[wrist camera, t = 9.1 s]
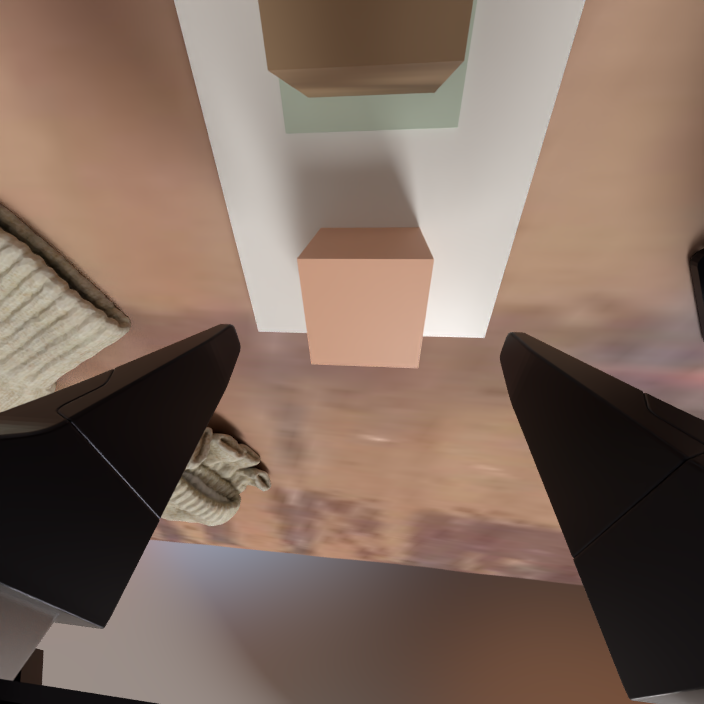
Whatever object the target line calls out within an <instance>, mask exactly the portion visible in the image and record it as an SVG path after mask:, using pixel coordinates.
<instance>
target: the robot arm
mask: <svg viewBox="0 0 704 704" xmlns="http://www.w3.org/2000/svg"><path fill="white" fill-rule="evenodd" d="M690 268H691V273H692V279H693V284H694V290H695V296H696V301H697V307H698V312H699V318H700V323H701V329H702V334H703V340H704V248H703V249H701V250H700V251H698V252H697V253H696V254H695V255H694V256H693V257H692V258H691V260H690ZM239 353H240V342H239V339H238V336H237V333H236V329H235V327H234V326H233V325H231V324H220V325H217V326H215V327H212V328H210V329H208V330H205V331H203V332H200V333H198V334H196V335H193V336H191V337H188V338H186V339H184V340H181V341H179V342H176V343H174V344H172V345H169V346H167V347H164V348H162V349H160V350H157V351H155V352H152V353H150V354H148V355H145V356H143V357H140V358H138V359H136V360H133V361H131V362H128V363H126V364H124V365H121V366H119V367H116V368H115V369H112V370H109V371H107V372H104V373H102V374H100V375H97V376H95V377H92V378H90V379H87V380H85V381H82V382H80V383H77V384H75V385H72V386H69V387H67V388H64V389H62V390H59V391H56V392H54V393H51V394H48V395H46V396H43V397H40V398H38V399H35V400H32V401H30V402H27V403H24V404H21V405H19V406H16V407H13V408H11V409H8V410H5V411H3V412H0V704H157V703H151V702H144V701H138V700H132V699H126V698H119V697H112V696H107V695H100V694H94V693H87V692H81V691H75V690H69V689H62V688H56V687H49V686H43V685H42V669H43V650H40V649H36V647H37V646H38V644H39V643H40V642H41V640H42V639H43V637H44V636H45V634H46V633H47V631H48V630H49V629H50V627H51V626H52V624H53V623H54V622H55V623H63V624H70V625H78V626H85V627H92V628H100V629H103V628H104V627H105V626H106V624H107V622H108V620H109V619H110V617H111V615H112V613H113V612H114V610H115V607H116V606H117V604H118V602H119V600H120V598H121V596H122V594H123V591H124V589H125V588H126V586H127V584H128V582H129V580H130V578H131V576H132V574H133V572H134V570H135V568H136V566H137V564H138V562H139V560H140V558H141V556H142V554H143V552H144V550H145V548H146V546H147V544H148V542H149V540H150V538H151V536H152V534H153V532H154V530H155V528H156V527H157V525H158V523H159V519H160V518H161V516H162V514H163V512H164V510H165V508H166V506H167V504H168V502H169V500H170V498H171V496H172V494H173V493H174V491H175V489H176V487H177V485H178V483H179V481H180V479H181V477H182V475H183V473H184V471H185V469H186V467H187V465H188V463H189V461H190V459H191V457H192V455H193V453H194V451H195V449H196V447H197V445H198V443H199V441H200V439H201V437H202V435H203V433H204V431H205V429H206V427H207V425H208V423H209V421H210V419H211V417H212V415H213V413H214V411H215V410H216V408H217V406H218V404H219V402H220V400H221V398H222V396H223V394H224V392H225V390H226V387H227V385H228V383H229V380H230V377H231V375H232V372H233V369H234V366H235V364H236V361H237V358H238V356H239ZM500 362H501V366H502V370H503V374H504V378H505V382H506V386H507V390H508V394H509V397H510V400H511V403H512V406H513V409H514V411H515V414H516V416H517V419H518V421H519V424H520V426H521V429H522V431H523V434H524V436H525V439H526V441H527V444H528V446H529V449H530V451H531V454H532V456H533V459H534V461H535V464H536V467H537V469H538V472H539V474H540V477H541V479H542V482H543V484H544V487H545V489H546V492H547V494H548V497H549V499H550V502H551V504H552V507H553V509H554V512H555V514H556V517H557V519H558V522H559V525H560V527H561V530H562V532H563V535H564V537H565V540H566V542H567V545H568V547H569V550H570V552H571V555H572V557H573V558H574V559H573V560H574V563H575V566H576V568H577V571H578V573H579V576H580V578H581V581H582V583H583V586H584V588H585V591H586V593H587V596H588V598H589V601H590V603H591V606H592V608H593V611H594V613H595V616H596V618H597V620H598V623H599V626H600V628H601V631H602V633H603V636H604V638H605V641H606V644H607V646H608V648H609V651H610V654H611V656H612V659H613V661H614V664H615V666H616V668H617V671H618V674H619V676H620V679H621V681H622V684H623V686H624V688H625V691H626V693H627V695H628V697H629V698H630V699H631V700H634V701H642V702H649V703H657V704H704V420H702V419H699V418H697V417H695V416H693V415H691V414H689V413H686V412H684V411H682V410H680V409H678V408H676V407H674V406H672V405H670V404H668V403H666V402H663V401H661V400H659V399H657V398H655V397H653V396H651V395H649V394H647V393H643V391H641V390H639V389H637V388H635V387H633V386H631V385H629V384H627V383H625V382H623V381H621V380H619V379H617V378H615V377H613V376H611V375H609V374H607V373H605V372H603V371H601V370H598V369H596V368H594V367H592V366H590V365H588V364H586V363H584V362H582V361H580V360H578V359H576V358H574V357H572V356H570V355H568V354H566V353H564V352H562V351H560V350H558V349H556V348H554V347H552V346H550V345H548V344H546V343H544V342H542V341H540V340H538V339H536V338H534V337H532V336H530V335H528V334H526V333H522V332H510V333H509V334H508V335H507V337H506V339H505V342H504V345H503V348H502V351H501V354H500Z"/></svg>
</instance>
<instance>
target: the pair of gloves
mask: <svg viewBox="0 0 704 704" xmlns="http://www.w3.org/2000/svg"><path fill="white" fill-rule="evenodd" d="M130 327H131V322H130V320H129V318H128V317H127V316H125V315H124V314H123V312H121V311H120V310H118V309H117V308H116V307H115V306H114V304H113V303H112V302H111V301H110V300H109V299H107V298H106V297H105V295H104V294H103V293H102V292H101V291H100V290H98V289H97V288H96V287H95V286H94V285H93V284H92V283H91V282H90V281H89V280H87V279H86V278H85V277H83V276H82V275H81V274H80V273H79V271H78V270H77V269H76V268H75V267H73V266H72V265H71V264H69V263H68V262H67V261H66V260H65V258H64V257H63V256H62V255H61V254H60V253H59V252H57V251H56V250H55V249H53V248H52V247H51V246H50V245H49V244H48V243H47V242H46V241H45V240H43V239H42V238H41V237H39V236H38V235H36V234H35V233H34V232H33V231H32V230H31V229H30V228H29V227H28V226H27V225H26V224H24V223H23V222H22V221H20V220H19V219H18V218H17V217H16V216H15V215H14V214H13V213H12V212H11V211H10V210H8V209H7V208H5V207H4V206H2V205H0V412H3V411H5V410H8V409H11V408H13V407H16V406H19V405H21V404H24V403H27V402H30V401H32V400H35V399H38V398H40V397H43V396H46V395H48V394H51V393H53V392H54V391H55V389H56V385H57V383H56V381H57V380H58V379H59V378H60V377H61V376H62V375H64V374H65V373H67V372H68V371H70V370H72V369H74V368H75V367H77V366H78V365H79V364H80V363H82V362H83V361H85V360H87V359H88V358H91V357H93V356H94V355H96V354H97V353H98V352H99V351H101V350H102V349H103V348H105V347H107V346H109V345H111V344H112V343H114V342H116V341H117V340H119V339H120V338H121V337H122V336H123V335H125V334H126V333H127V332H128V331H129V330H130ZM259 463H260V457H259V456H258V455H257V454H256V453H255V452H254V451H253V450H252V449H251V448H249V447H248V446H247V445H244V444H238V443H237V441H236V440H235V439H233V437H232V436H230V435H226V434H217V433H216V434H213V432H212V429H211V428H209V427H206V429H205V431H204V433H203V435H202V437H201V439H200V441H199V443H198V445H197V447H196V449H195V451H194V453H193V455H192V457H191V459H190V461H189V463H188V465H187V467H186V469H185V471H184V473H183V475H182V477H181V479H180V481H179V483H178V485H177V487H176V489H175V491H174V493H173V494H172V496H171V498H170V500H169V502H168V504H167V506H166V508H165V510H164V512H163V514H162V516H161V518H164V519H167V520H172V521H185V522H193V523H201V524H204V525H208V526H215V525H220V524H223V523H225V522H227V521H228V520H230V519H231V518H232V517H233V516H234V515H235V514H236V512H237V511H238V509H239V507H240V502H241V497H240V495H239V494H240V493H241V492H243V491H244V490H245V489H246V485H252V486H256V487H257V488H259V489H261V490H262V491H266V490H268V489H270V487H271V481H270V478H269V476H268V475H267V473H266V472H265V471H262V470H258V469H257V468H254V467H252V466H255V465H257V464H259Z"/></svg>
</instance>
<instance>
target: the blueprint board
mask: <svg viewBox="0 0 704 704" xmlns="http://www.w3.org/2000/svg"><path fill="white" fill-rule="evenodd" d="M174 2H175V6H176V10H177V14H178V18H179V22H180V26H181V30H182V34H183V38H184V42H185V45H186V49H187V53H188V57H189V61H190V65H191V69H192V73H193V77H194V81H195V85H196V88H197V92H198V96H199V100H200V104H201V108H202V112H203V116H204V120H205V124H206V128H207V131H208V135H209V139H210V143H211V147H212V151H213V155H214V159H215V163H216V167H217V171H218V174H219V178H220V182H221V186H222V190H223V194H224V198H225V202H226V206H227V210H228V214H229V217H230V221H231V225H232V229H233V233H234V237H235V241H236V245H237V249H238V253H239V257H240V260H241V264H242V268H243V272H244V276H245V280H246V284H247V288H248V292H249V296H250V300H251V303H252V307H253V311H254V315H255V319H256V323H257V327H258V331H260V332H296V333H307V329H306V321H305V314H304V307H303V300H302V292H301V285H300V278H299V271H298V263H297V258H298V257H299V255H300V254H301V253H302V251H303V250H304V249H305V248H306V246H307V245H308V244H309V242H310V241H311V240H312V239H313V237H314V236H315V235H316V233H317V232H318V231H319V230H320V228H391V227H420V229H421V232H422V234H423V236H424V238H425V241H426V243H427V245H428V247H429V249H430V252H431V254H432V256H433V258H434V263H433V270H432V277H431V284H430V290H429V297H428V304H427V311H426V318H425V325H424V331H423V336H439V337H474V338H484V337H485V334H486V331H487V327H488V324H489V321H490V317H491V314H492V311H493V307H494V304H495V301H496V297H497V294H498V291H499V287H500V284H501V281H502V277H503V274H504V271H505V267H506V264H507V260H508V257H509V254H510V250H511V247H512V244H513V240H514V237H515V234H516V230H517V227H518V224H519V220H520V217H521V214H522V210H523V207H524V204H525V200H526V197H527V194H528V190H529V187H530V184H531V180H532V177H533V174H534V170H535V167H536V164H537V160H538V157H539V154H540V150H541V147H542V144H543V140H544V137H545V134H546V130H547V127H548V124H549V120H550V117H551V114H552V110H553V107H554V104H555V100H556V97H557V94H558V90H559V87H560V84H561V80H562V77H563V74H564V70H565V67H566V64H567V60H568V57H569V54H570V50H571V47H572V43H573V40H574V37H575V33H576V30H577V27H578V23H579V20H580V17H581V13H582V10H583V7H584V3H585V0H473V6H472V12H471V19H470V26H469V32H468V39H467V45H466V52H465V59H464V62H463V63H462V64H461V65H460V66H459V67H458V68H457V69H456V70H455V71H454V72H453V73H452V74H451V75H450V77H449V78H448V79H447V80H446V81H445V82H444V83H443V84H442V85H441V86H440V87H439V88H438V89H437V91H436V92H435V93H414V94H389V95H364V96H339V97H315V98H308V97H307V96H305V95H304V94H302V93H301V92H299V91H298V90H296V89H295V88H293V87H292V86H290V85H289V84H287V83H286V82H284V81H283V80H281V79H280V78H278V77H277V76H275V75H274V74H272V73H271V72H269V71H268V68H267V61H266V54H265V47H264V40H263V33H262V26H261V18H260V11H259V4H258V0H174Z"/></svg>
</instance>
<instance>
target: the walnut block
mask: <svg viewBox="0 0 704 704" xmlns="http://www.w3.org/2000/svg"><path fill="white" fill-rule="evenodd" d="M258 4H259V11H260V18H261V26H262V33H263V40H264V47H265V54H266V61H267V68H268V71H269V72H271V73H272V74H274V75H275V76H277V77H278V78H280V79H281V80H283V81H284V82H286V83H287V84H289V85H290V86H292V87H293V88H295V89H296V90H298V91H299V92H301V93H302V94H304V95H305V96H307V97H308V98H315V97H339V96H364V95H389V94H414V93H435V92H436V91H437V89H438V88H439V87H440V86H441V85H442V84H443V83H444V82H445V81H446V80H447V79H448V78H449V77H450V75H451V74H452V73H453V72H454V71H455V70H456V69H457V68H458V67H459V66H460V65H461V64H462V63H463V62H464V59H465V52H466V45H467V39H468V32H469V26H470V19H471V12H472V6H473V0H258Z"/></svg>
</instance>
